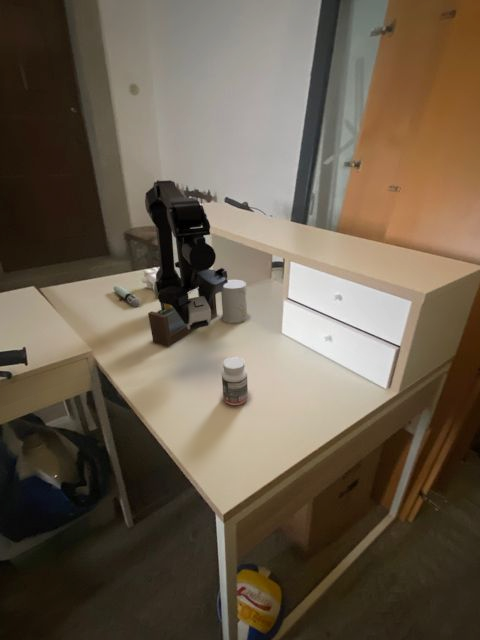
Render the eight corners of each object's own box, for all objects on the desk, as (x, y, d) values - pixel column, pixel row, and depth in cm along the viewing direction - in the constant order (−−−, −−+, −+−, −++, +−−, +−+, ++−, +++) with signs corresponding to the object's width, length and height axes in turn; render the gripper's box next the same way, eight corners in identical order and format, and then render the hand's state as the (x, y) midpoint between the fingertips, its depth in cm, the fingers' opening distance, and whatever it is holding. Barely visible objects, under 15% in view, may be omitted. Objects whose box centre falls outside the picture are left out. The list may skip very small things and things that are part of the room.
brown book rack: (153, 342, 105) (147, 313, 100) (203, 312, 123) (200, 286, 118) (168, 347, 102) (163, 317, 97) (217, 316, 120) (215, 289, 115)
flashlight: (107, 289, 137) (127, 305, 124) (116, 282, 138) (136, 296, 125) (113, 295, 139) (133, 311, 126) (121, 288, 140) (142, 303, 127)
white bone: (178, 295, 136) (175, 274, 132) (156, 300, 132) (153, 279, 128) (162, 284, 147) (159, 265, 142) (142, 288, 142) (138, 269, 138)
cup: (243, 324, 115) (242, 289, 109) (219, 321, 116) (217, 287, 110) (249, 313, 122) (248, 280, 116) (226, 311, 123) (225, 278, 117)
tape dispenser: (187, 333, 93) (191, 317, 84) (180, 311, 94) (183, 293, 85) (208, 329, 95) (214, 312, 86) (201, 307, 96) (206, 289, 88)
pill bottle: (223, 391, 84) (221, 356, 79) (247, 390, 85) (246, 354, 79) (223, 406, 79) (220, 370, 74) (248, 405, 80) (247, 369, 75)
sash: (161, 332, 106) (155, 300, 101) (183, 320, 113) (179, 289, 108) (166, 334, 105) (161, 301, 100) (188, 321, 112) (184, 290, 107)
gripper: (191, 275, 72) (197, 341, 81) (240, 253, 86) (242, 311, 94) (151, 266, 77) (162, 329, 85) (204, 247, 91) (209, 302, 99)
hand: (196, 317), depth 91 cm, fingers closed on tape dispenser, 7 cm apart
